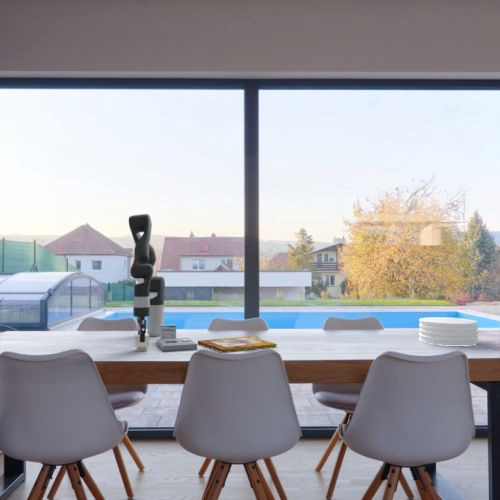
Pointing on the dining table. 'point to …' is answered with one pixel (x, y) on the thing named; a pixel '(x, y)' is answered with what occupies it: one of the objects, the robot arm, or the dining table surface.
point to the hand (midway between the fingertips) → (141, 340)
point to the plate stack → (448, 331)
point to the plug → (141, 345)
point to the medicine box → (167, 331)
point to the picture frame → (236, 343)
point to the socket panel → (176, 344)
